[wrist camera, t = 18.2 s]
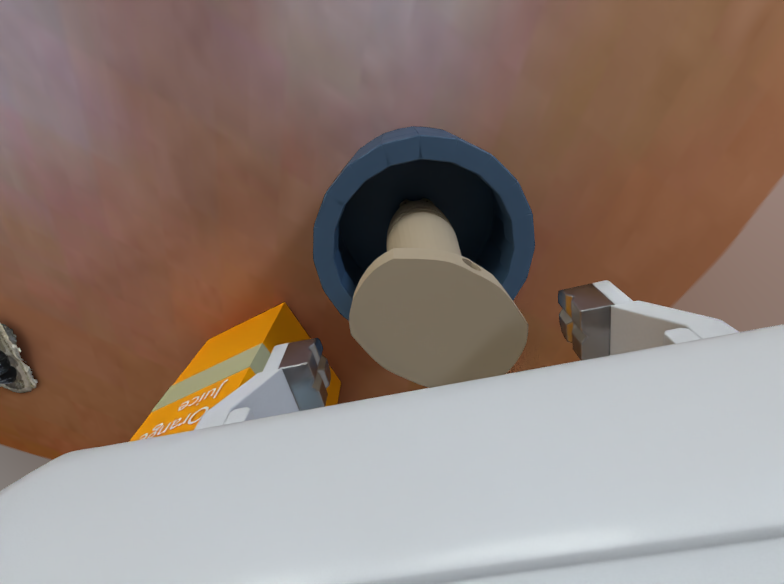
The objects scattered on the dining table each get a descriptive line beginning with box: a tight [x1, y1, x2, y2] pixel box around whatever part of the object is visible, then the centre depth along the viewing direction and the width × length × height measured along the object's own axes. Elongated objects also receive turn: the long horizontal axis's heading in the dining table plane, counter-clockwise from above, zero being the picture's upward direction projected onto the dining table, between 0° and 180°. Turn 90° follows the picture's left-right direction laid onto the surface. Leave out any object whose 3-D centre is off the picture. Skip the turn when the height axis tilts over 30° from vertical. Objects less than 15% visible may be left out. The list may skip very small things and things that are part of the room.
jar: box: [313, 126, 535, 320], centre depth 25 cm, size 12×12×8 cm
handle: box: [349, 198, 528, 388], centre depth 21 cm, size 5×6×15 cm
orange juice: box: [129, 302, 341, 442], centre depth 25 cm, size 8×9×20 cm
